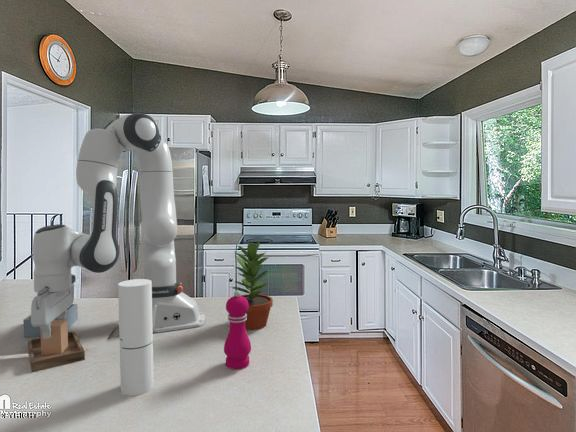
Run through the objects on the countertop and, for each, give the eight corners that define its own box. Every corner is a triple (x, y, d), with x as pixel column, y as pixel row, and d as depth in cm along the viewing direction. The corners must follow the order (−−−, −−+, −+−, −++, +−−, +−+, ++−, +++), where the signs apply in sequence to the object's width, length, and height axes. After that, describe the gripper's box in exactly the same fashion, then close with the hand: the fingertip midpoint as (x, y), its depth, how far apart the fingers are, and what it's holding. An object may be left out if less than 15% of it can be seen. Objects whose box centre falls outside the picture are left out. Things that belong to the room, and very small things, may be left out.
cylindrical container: (145, 376, 91) (143, 277, 90) (158, 387, 86) (156, 282, 85) (116, 387, 86) (113, 282, 85) (127, 399, 81) (125, 288, 80)
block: (68, 346, 107) (67, 319, 107) (61, 353, 102) (60, 325, 102) (49, 347, 106) (48, 320, 106) (41, 355, 101) (40, 326, 101)
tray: (28, 348, 108) (27, 340, 108) (75, 338, 115) (74, 331, 115) (31, 372, 93) (31, 362, 93) (84, 359, 101) (84, 350, 101)
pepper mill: (239, 373, 93) (239, 295, 92) (218, 366, 97) (217, 291, 96) (256, 362, 100) (256, 289, 98) (235, 355, 103) (235, 285, 102)
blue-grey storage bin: (78, 321, 130) (77, 303, 130) (62, 337, 116) (61, 317, 116) (44, 324, 128) (43, 305, 128) (24, 340, 114) (23, 319, 113)
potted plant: (262, 314, 138) (262, 235, 136) (279, 328, 125) (279, 240, 123) (223, 320, 132) (223, 237, 130) (237, 335, 118) (237, 243, 116)
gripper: (50, 292, 93) (52, 345, 94) (77, 274, 113) (79, 318, 114) (22, 293, 92) (24, 347, 93) (54, 275, 112) (56, 320, 113)
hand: (54, 331), depth 104 cm, fingers open, 8 cm apart
